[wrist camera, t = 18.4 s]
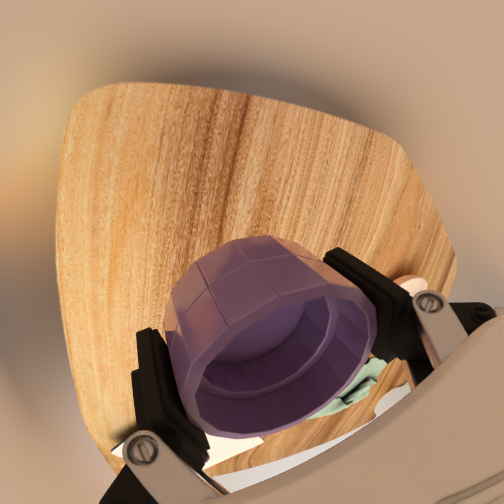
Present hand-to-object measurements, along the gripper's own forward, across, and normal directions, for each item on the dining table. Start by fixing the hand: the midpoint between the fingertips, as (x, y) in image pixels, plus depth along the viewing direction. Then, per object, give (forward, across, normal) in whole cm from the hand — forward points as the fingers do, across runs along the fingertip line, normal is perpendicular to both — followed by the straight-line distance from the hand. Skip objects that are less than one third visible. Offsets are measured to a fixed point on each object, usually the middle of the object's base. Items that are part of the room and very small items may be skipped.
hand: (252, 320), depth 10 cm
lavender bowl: (+1, 0, 0) cm, 1 cm away
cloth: (+15, -17, +42) cm, 48 cm away
